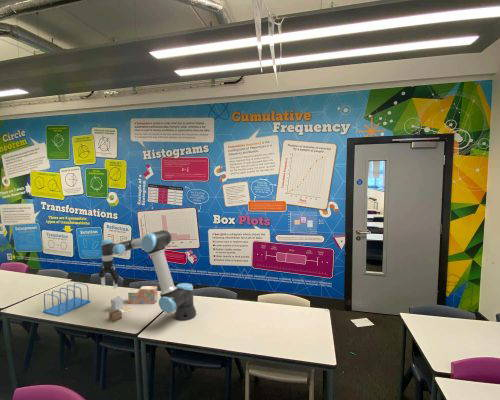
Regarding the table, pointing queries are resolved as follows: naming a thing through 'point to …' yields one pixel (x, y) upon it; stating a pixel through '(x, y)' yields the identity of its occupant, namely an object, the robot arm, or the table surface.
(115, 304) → the grey block
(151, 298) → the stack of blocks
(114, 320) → the walnut cube
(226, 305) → the table surface
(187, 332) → the table surface
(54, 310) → the file sorter
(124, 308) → the envelope
